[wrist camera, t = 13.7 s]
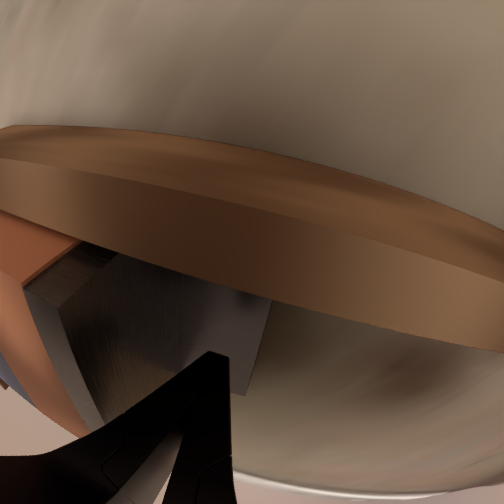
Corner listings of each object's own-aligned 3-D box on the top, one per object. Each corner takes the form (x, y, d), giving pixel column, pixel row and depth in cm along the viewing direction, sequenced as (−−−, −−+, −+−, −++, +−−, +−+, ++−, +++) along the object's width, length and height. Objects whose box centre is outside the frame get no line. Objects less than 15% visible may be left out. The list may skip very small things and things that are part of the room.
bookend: (293, 220, 8) (238, 384, 4) (247, 387, 12) (208, 498, 8) (162, 189, 9) (21, 287, 4) (164, 358, 13) (106, 454, 8)
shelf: (562, 261, 6) (635, 363, 1) (426, 435, 12) (430, 523, 7) (11, 125, 9) (-89, 164, 4) (45, 317, 15) (-10, 375, 10)
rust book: (162, 185, 9) (20, 283, 4) (164, 357, 13) (106, 453, 8) (81, 170, 9) (-46, 236, 4) (102, 330, 13) (38, 410, 8)
